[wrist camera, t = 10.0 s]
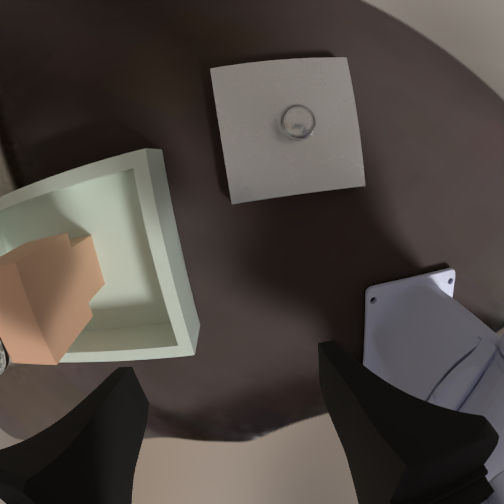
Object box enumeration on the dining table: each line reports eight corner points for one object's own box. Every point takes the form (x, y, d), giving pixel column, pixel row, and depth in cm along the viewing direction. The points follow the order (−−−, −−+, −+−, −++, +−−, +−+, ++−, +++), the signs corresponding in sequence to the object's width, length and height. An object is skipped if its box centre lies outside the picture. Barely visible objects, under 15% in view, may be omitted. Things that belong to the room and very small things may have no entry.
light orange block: (88, 221, 17) (15, 262, 10) (108, 296, 19) (57, 365, 12) (48, 230, 17) (-26, 271, 10) (70, 300, 19) (13, 362, 12)
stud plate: (359, 184, 18) (383, 191, 15) (232, 201, 18) (231, 212, 15) (341, 61, 16) (362, 45, 12) (211, 72, 16) (205, 55, 12)
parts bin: (200, 325, 21) (194, 355, 17) (38, 338, 21) (18, 361, 17) (161, 149, 17) (145, 148, 14) (-7, 203, 17) (-36, 213, 14)
